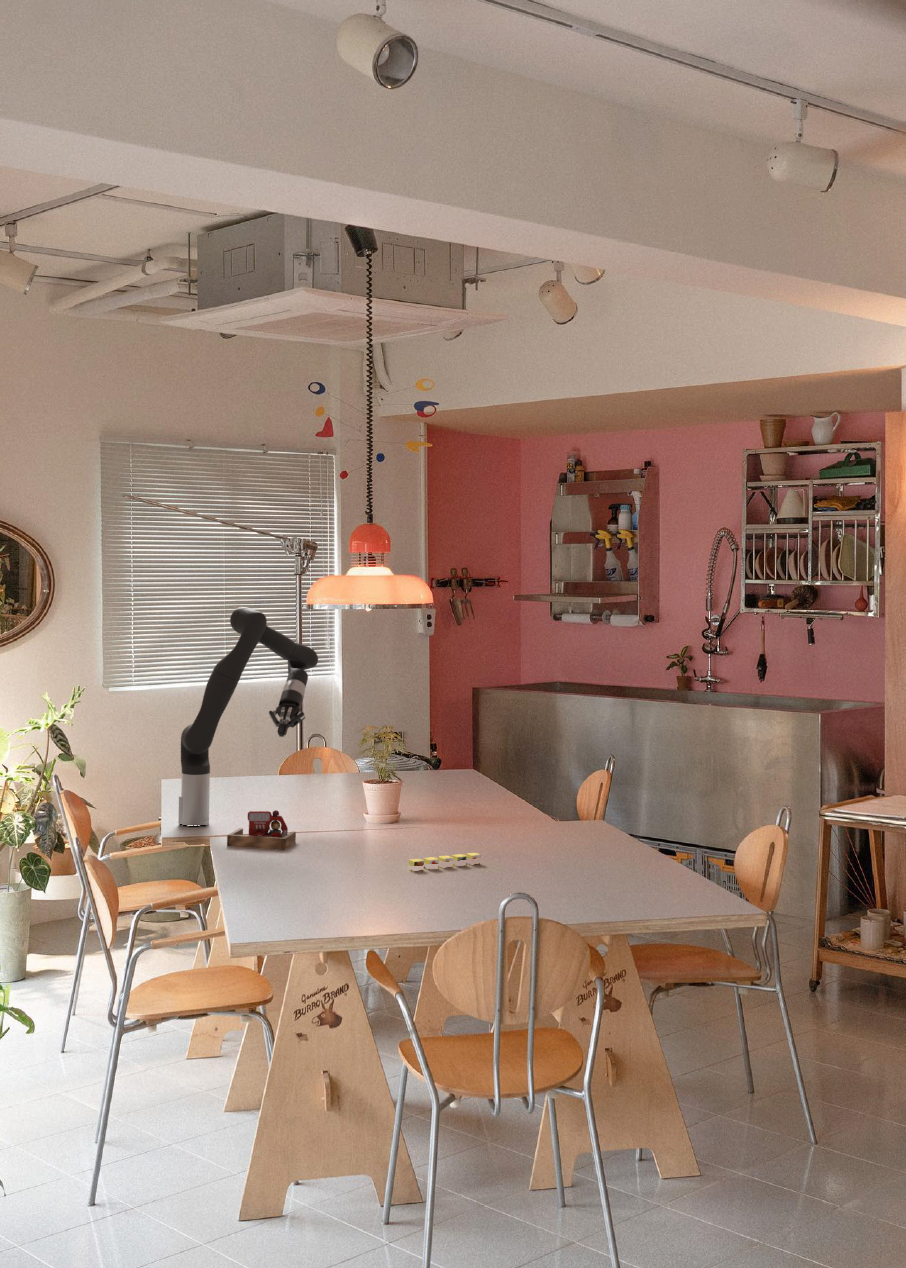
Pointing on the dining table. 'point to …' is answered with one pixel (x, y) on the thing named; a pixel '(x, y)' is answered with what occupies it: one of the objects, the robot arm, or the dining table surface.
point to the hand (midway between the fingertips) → (281, 735)
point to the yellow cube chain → (442, 859)
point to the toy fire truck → (266, 824)
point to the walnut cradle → (260, 841)
